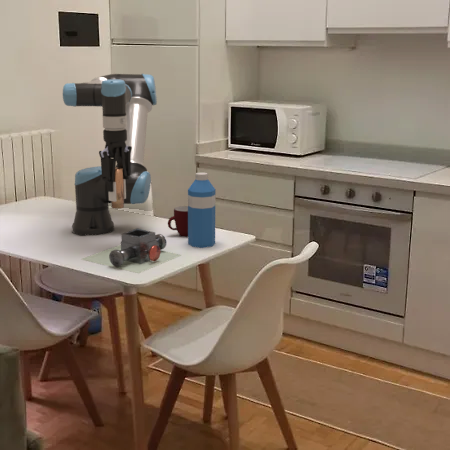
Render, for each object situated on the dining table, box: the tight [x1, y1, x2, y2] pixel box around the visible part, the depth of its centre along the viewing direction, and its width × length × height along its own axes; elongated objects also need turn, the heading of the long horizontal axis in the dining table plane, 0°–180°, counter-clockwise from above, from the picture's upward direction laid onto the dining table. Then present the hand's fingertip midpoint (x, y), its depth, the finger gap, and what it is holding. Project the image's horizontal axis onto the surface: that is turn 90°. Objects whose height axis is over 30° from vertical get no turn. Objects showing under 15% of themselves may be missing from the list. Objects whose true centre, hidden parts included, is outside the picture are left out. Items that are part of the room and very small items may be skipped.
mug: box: [167, 205, 188, 238], centre depth 246 cm, size 10×8×10 cm
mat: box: [80, 244, 182, 274], centre depth 222 cm, size 24×22×1 cm
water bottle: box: [187, 172, 217, 249], centre depth 234 cm, size 9×9×25 cm
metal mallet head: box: [109, 228, 167, 267], centre depth 219 cm, size 11×22×8 cm, turn 147°
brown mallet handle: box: [111, 166, 125, 210], centre depth 226 cm, size 4×4×13 cm
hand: (117, 199), depth 227 cm, fingers closed on brown mallet handle, 4 cm apart
